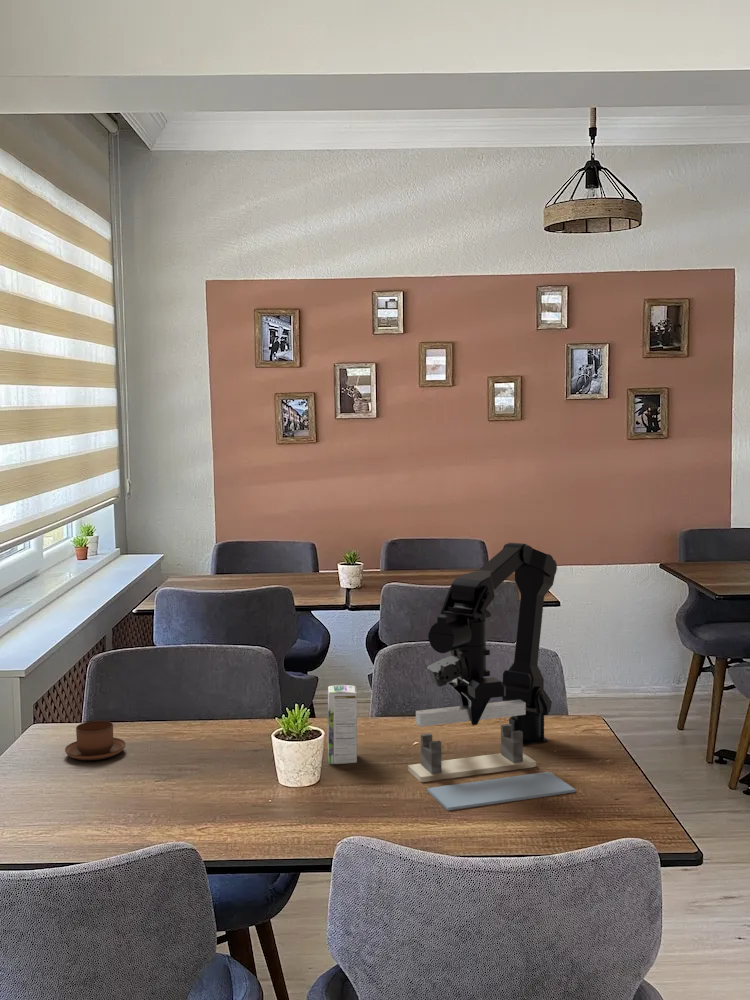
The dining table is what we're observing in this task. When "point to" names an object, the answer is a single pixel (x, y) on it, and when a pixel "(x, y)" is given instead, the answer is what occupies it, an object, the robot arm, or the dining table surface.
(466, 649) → the robot arm
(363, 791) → the dining table surface
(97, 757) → the cup and saucer
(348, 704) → the syrup box
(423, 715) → the rail
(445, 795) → the mat
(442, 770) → the rail stand
